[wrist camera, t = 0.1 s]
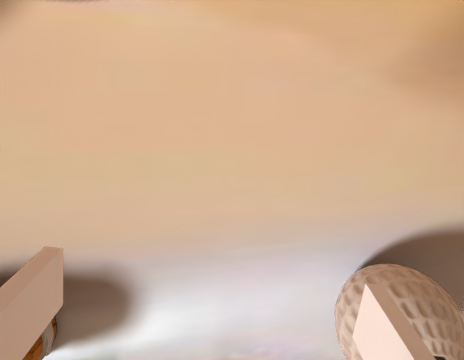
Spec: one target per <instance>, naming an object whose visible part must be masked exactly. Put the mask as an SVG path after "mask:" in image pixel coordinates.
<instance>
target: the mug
mask: <svg viewBox="0 0 464 360" xmlns="http://www.w3.org/2000/svg"><path fill="white" fill-rule="evenodd" d="M55 321H56V319H55V318H53V319H52V320H51V322H50V323H49V324H48V326H47V327H46V328H45V330H44V331H43V332H42V334H41V335H40V336H39V338H38V339H37V340H36V342H35V343H34V345H33V346H32V347H31V349H30V350H29V351H28V353H27V354H26V355H25V357H24V358H23V359H22V360H42V359H43V358H44V357H45V356H47V355H49V354H50V352H51V351H52V347H51V345H52V342H53V341H54V338H55V336H56V323H55Z"/></svg>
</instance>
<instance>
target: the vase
mask: <svg viewBox="0 0 464 360" xmlns="http://www.w3.org/2000/svg"><path fill="white" fill-rule="evenodd" d="M366 283H368V284H377V285H383V286H384V288H385V289H386V290H387V292H388V293H389V295H390V296H391V297H392V299H393V300H394V302H395V303H396V304H397V306H398V307H399V309H400V310H401V311H402V313H403V314H404V316H405V317H406V318H407V320H408V321H409V323H410V324H411V325H412V327H413V328H414V330H415V331H416V332H417V334H418V335H419V337H420V338H421V339H422V341H423V342H424V344H425V345H426V346H427V348H428V349H429V351H430V352H431V353H432V355H433V356H440V357H444V358H445V359H446V360H464V316H463V314H462V312H461V311H460V309H459V307H458V306H457V304H456V303H455V302H454V300H453V299H452V298H451V297H450V296H449V295H448V293H447V292H446V291H445V290H444V289H443V288H442V287H441V286H440V285H438V284H437V283H436V282H434V281H433V280H432V279H431V278H429V277H428V276H426V275H425V274H423V273H421V272H419V271H417V270H415V269H412V268H409V267H407V266H402V265H396V264H375V265H370V266H367V267H365V268H362V269H360V270H359V271H357V272H355V273H354V274H353V275H352V276H351V277H350V278H349V279H348V280H347V281H346V283H345V284H344V286H343V287H342V289H341V291H340V293H339V296H338V299H337V302H336V305H335V329H336V333H337V337H338V341H339V344H340V346H341V348H342V351H343V353H344V355H345V357H346V359H347V360H363V359H362V357H361V354H360V352H359V350H358V348H357V346H356V343H355V341H354V339H353V337H352V336H353V332H354V328H355V324H356V320H357V316H358V312H359V308H360V304H361V300H362V296H363V292H364V288H365V284H366Z"/></svg>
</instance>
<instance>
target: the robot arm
mask: <svg viewBox="0 0 464 360" xmlns="http://www.w3.org/2000/svg"><path fill="white" fill-rule="evenodd" d="M62 305H63V249H62V248H53V247H44V248H43V249H42V250H41V251H40V252H39V253H38V254H36V255H35V256H34V257H33V258H32V259H31V260H30V261H29V262H28V263H27V264H25V265H24V266H23V267H22V268H21V269H20V270H19V271H18V272H17V273H16V274H14V275H13V276H12V277H11V278H10V279H9V280H8V281H7V282H6V283H5V284H3V285H2V286H1V287H0V360H22V359H23V358H24V357H25V355H26V354H27V353H28V351H29V350H30V349H31V347H32V346H33V345H34V343H35V342H36V340H37V339H38V338H39V336H40V335H41V334H42V332H43V331H44V330H45V328H46V327H47V326H48V324H49V323H50V322H51V320H52V319H53V318H54V316H55V315H56V314H57V312H58V311H59V310H60V308H61V307H62ZM352 337H353V339H354V341H355V343H356V346H357V348H358V350H359V352H360V354H361V357H362V359H363V360H446V359H445V358H444V357H440V356H433V355H432V353H431V352H430V351H429V349H428V348H427V346H426V345H425V344H424V342H423V341H422V339H421V338H420V337H419V335H418V334H417V332H416V331H415V330H414V328H413V327H412V325H411V324H410V323H409V321H408V320H407V318H406V317H405V316H404V314H403V313H402V311H401V310H400V309H399V307H398V306H397V304H396V303H395V302H394V300H393V299H392V297H391V296H390V295H389V293H388V292H387V290H386V289H385V288H384V286H383V285H377V284H368V283H366V284H365V288H364V292H363V296H362V300H361V304H360V308H359V312H358V316H357V320H356V324H355V328H354V332H353V336H352Z"/></svg>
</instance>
